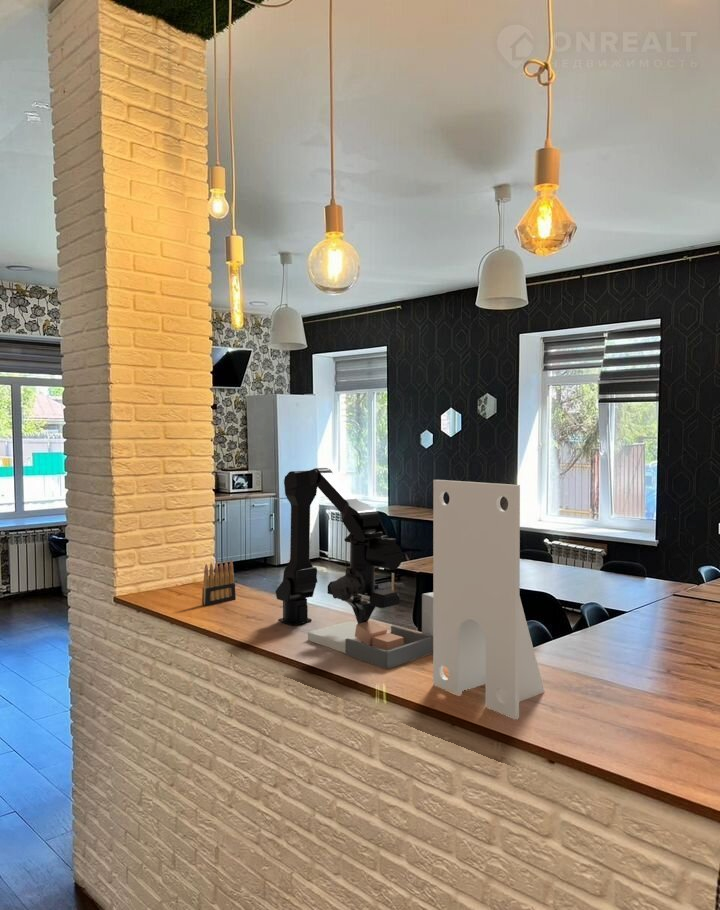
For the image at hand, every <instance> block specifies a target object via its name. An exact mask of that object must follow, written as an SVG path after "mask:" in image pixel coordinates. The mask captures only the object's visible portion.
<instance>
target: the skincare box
mask: <svg viewBox="0 0 720 910" xmlns="http://www.w3.org/2000/svg"><path fill="white" fill-rule="evenodd" d="M421 633H423V634H427V635H430V636H433V591H432V592H426V593H422V594H421Z"/></svg>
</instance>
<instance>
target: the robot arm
mask: <svg viewBox="0 0 720 910" xmlns="http://www.w3.org/2000/svg"><path fill="white" fill-rule="evenodd" d="M283 484H284V486H283V487H284V494H285V497H286V499H287V501H288V502H289V503H290V553H289V555H290V556H289V560H288V563H287V565H286V566H285V568H284V571H283V577H282V582H281V583H280V584H279V585H278V587H277V588H276V590H275V596H276V600H279V601H282V617H281V618H278V620H277V621H278V622H281V623H284V624H285V625H290V626H297V625H301V624H305V623H309V622H312V618H309V617H308V608H309V607H308V598H313V597H314V593H315V589H316V586H317V583H318V577H317V574H318V569H317V567H315V566H313V564H312V562H311V561H310V560H311V559H310V547H311V546H310V544H311V541H310V540H311V538H310V537H311V536H310V535H311V533H310V532H311V504H312V503H313V501H314V500H315V498H316V497H317V492H318V489H319V490H320V491H321V492H322V494H323V495H324V496H325V498H327V499H328V500H329V501H330V502H331V504H332V505H333V506H334V507H335V508H336V509H337V510H338V511H339V513H340V514H341V522H342V523H343V525H344V526H345V528H346V530H347V531H348V533H349V534H348V535H347V536H346V537H345V538H344V541H345V542H346V543H350V566H348V567H346V568H345V575H342V576H341V577H339V578H337V579H336V580H332V581H330V582H329V583H328V585H327V594H328V595H331V596H332V598H333V599H338V600H341V601H342V602H346V603H347V604H348V605H349V606H350V607H351V608H352V610H353V612H354V616H355V619H356V622H357V623H358V624H360V623H364V622H369V621H370V618H371V616H372V614H373V612H374V610H375V609H376V608H379V609H386V608H389V607H393V606H397V605H400V594H399V593H398V592H397V591H395V590H391V589H385V588H384V589H382V590H381V589H380V590H379V584H377V583H376V576H375V575H376V573H378V572H380V571H379V568H382V569H386V570H390V571H393V570H396V569H398V568H399V567H400V566H401V564H402V562H403V558H404V557H403V556H404V554H403V551H402V548H401V547H400V546H399V544H397V539H396V538H392V537H391V538H389V534H388V533H387V530H386V527H385V526H384V524H383V521H382V520H381V518H380V514H379V512H378V511H377V510H376V509H375V508H374V507H372V506H371V505H369V504H368V503H365V502H363V501H360V500H358V499H357V498H356V497H355V496H354V495H353V494H352V493H351V492H350V491H349V490H348V489H347V488H346V487H345V486H344V485H343V483H342V482H341V481H340V480H339V479H338V478H337V477H336V476H335V475H334V473H333V471H332V469H330V468H328V467H317V468H313V469H310V470H296V471H295V470H291V471H289V472H287V474H286V475H284V479H283ZM376 590H377V591H376Z"/></svg>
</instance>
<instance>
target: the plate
mask: <svg viewBox="0 0 720 910" xmlns="http://www.w3.org/2000/svg"><path fill="white" fill-rule="evenodd" d="M357 624H358V622H357V621H353V620H347V621H344V622H340V623H336V624H334V625H329V626H326V627H322V628H318V629H314V630H311V631H308V632H307V641H308V642H311V643H314V644H317V645H321V646H323V647H325V648H330V649H333V650H334V651H339V652H341V653H344V654H345V639H352V640H355V641H358V642H361V643H364V642H362V641H361V640H359V639H358V638H356V637H355V631H356V625H357ZM387 633H391V631H388V630H387ZM364 644H365V643H364Z"/></svg>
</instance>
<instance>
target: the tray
mask: <svg viewBox="0 0 720 910" xmlns="http://www.w3.org/2000/svg"><path fill="white" fill-rule="evenodd" d="M390 632H391V634H394V635H398V636H401V637H404V645H403V646H400V647H397V648H394V649H391V650H388V651H387V650H383V649H380V648H377V647H374V646H372V645H367V644H364V643H361V642H358V641H355V640H352V639H345V653H344V654H345V656H348V657H351V658H353V659H356V660H360V661H363V662H365V663H368V664H371V665H373V666H377V667H379V668H383V669H386V670H389V669H391V668H395V667H397V666H400V665H403V664H406V663H408V662H412V661H414V659H415V660H417V659H420V658H423V657H426V656H428V655H431V654H432V655H433V636H430V635H427V634H423V633H422V632H419V631H416V630H411V629H407V628H405V627H401V626H397V625H390ZM425 655H426V656H425ZM422 656H423V657H422ZM411 660H412V661H411Z"/></svg>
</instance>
